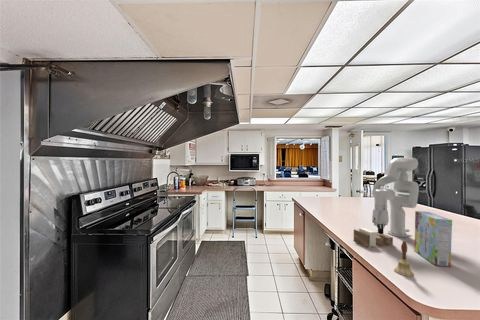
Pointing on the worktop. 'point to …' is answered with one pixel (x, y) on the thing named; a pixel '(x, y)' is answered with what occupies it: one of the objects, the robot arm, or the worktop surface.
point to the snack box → (433, 238)
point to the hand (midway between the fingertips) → (380, 233)
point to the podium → (380, 239)
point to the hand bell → (403, 263)
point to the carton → (371, 236)
